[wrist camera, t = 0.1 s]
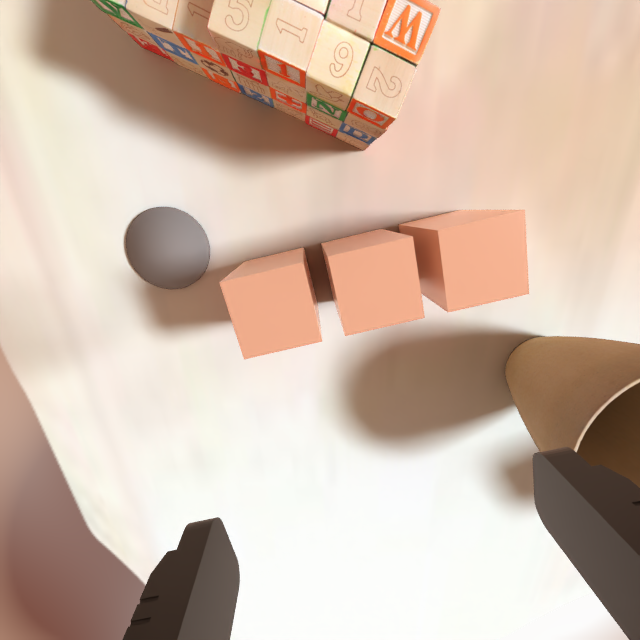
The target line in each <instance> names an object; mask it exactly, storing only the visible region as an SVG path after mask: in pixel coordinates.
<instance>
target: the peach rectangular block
mask: <svg viewBox="0 0 640 640" xmlns="http://www.w3.org/2000/svg"><path fill="white" fill-rule="evenodd" d="M399 231H400V233H401V234H405V235H409V236H413V241H414V248H415V255H416V262H417V268H418V275H419V282H420V289H421V294H423V295H424V296H426V297H427V298H428V299H430V300H431V301H433V302H434V303H436V304H437V305H438V306H440V307H441V308H443V309H444V310H445V311H447V312H452V311H456V310H461V309H465V308H469V307H474V306H478V305H482V304H487V303H491V302H495V301H500V300H504V299H508V298H513V297H517V296H522V295H526V294H529V284H528V264H527V244H526V224H525V210H458V211H453V212H449V213H445V214H441V215H437V216H432V217H428V218H424V219H420V220H416V221H411V222H407V223H403V224H399Z"/></svg>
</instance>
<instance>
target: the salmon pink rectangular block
mask: <svg viewBox="0 0 640 640" xmlns="http://www.w3.org/2000/svg"><path fill="white" fill-rule="evenodd" d="M219 283H220V286H221V289H222V292H223V295H224V299H225V302H226V305H227V308H228V311H229V314H230V317H231V320H232V323H233V326H234V329H235V333H236V336H237V339H238V342H239V345H240V348H241V351H242V354H243V357H244V359H248V358H252V357H256V356H261V355H265V354H269V353H274V352H278V351H283V350H287V349H291V348H296V347H300V346H304V345H309V344H313V343H317V342H322V335H321V328H320V320H319V312H318V304H317V300H316V296H315V292H314V288H313V284H312V280H311V275H310V271H309V267H308V263H307V259H306V255H305V251H304V247H303V248H298V249H294V250H290V251H286V252H282V253H277V254H273V255H269V256H265V257H261V258H257V259H252V260H248V261H244V262H243V263H242V264H241V265H240V266H238V267H237V268H236V269H235V270H234V271H232V272H231V273H230V274H229V275H227V276H226V277H225V278H224V279H223V280H221V281H220V282H219Z"/></svg>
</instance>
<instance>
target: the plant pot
mask: <svg viewBox="0 0 640 640" xmlns="http://www.w3.org/2000/svg"><path fill="white" fill-rule="evenodd" d="M505 376H506V380H507V383H508V386H509V389H510V392H511V395H512V398H513V400H514V402H515V405H516V407H517V409H518V411H519V414H520V416H521V418H522V420H523V422H524V424H525V426H526V428H527V430H528V432H529V433H530V435H531V437H532V439H533V440H534V442H535V444H536V446H537V447H538V449H539V450H540V452H543V451H548V450H553V449H557V448H562V447H569V448H571V449H573V450H574V451H575V452H576V453H578V454H579V455H580V456H581V457H582V458H583V459H584V460H585V461H586V462H587V463H589V464H590V465H591V466H596V465H603V466H605V467H607V468H609V469H611V470H613V471H614V472H616V473H618V474H620V475H622V476H624V477H626V478H628V479H630V480H631V481H632V482H633V483H634V484H636V485H637V486H638V487H639V488H640V344H635V343H628V342H621V341H614V340H606V339H597V338H586V337H561V336H552V337H536V338H532V339H529V340H527V341H525V342H523V343H522V344H520V345H519V346H518V347H517V348H516V349H515V350H514V351H513V352H512V353H511V355H510V356H509V358H508V361H507V363H506V368H505Z"/></svg>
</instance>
